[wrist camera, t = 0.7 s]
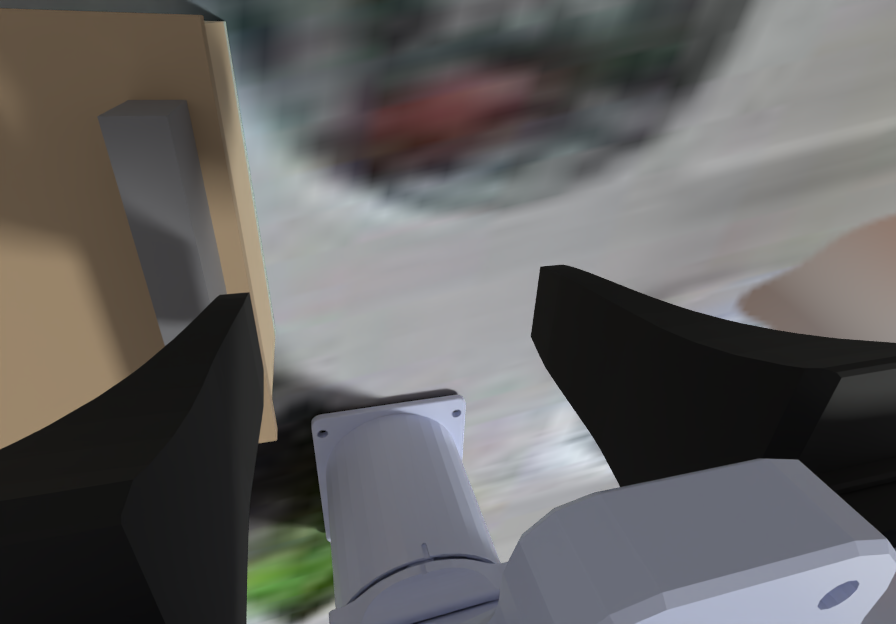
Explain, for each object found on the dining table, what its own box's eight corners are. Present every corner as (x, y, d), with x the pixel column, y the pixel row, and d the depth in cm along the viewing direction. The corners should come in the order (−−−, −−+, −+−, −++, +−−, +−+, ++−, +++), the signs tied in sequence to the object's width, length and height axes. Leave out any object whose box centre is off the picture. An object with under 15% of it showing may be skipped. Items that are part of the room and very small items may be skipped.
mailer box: (275, 330, 23) (270, 419, 18) (-109, 370, 19) (-246, 493, 14) (225, 21, 17) (197, 24, 12) (-341, 3, 13) (-713, -3, 8)
